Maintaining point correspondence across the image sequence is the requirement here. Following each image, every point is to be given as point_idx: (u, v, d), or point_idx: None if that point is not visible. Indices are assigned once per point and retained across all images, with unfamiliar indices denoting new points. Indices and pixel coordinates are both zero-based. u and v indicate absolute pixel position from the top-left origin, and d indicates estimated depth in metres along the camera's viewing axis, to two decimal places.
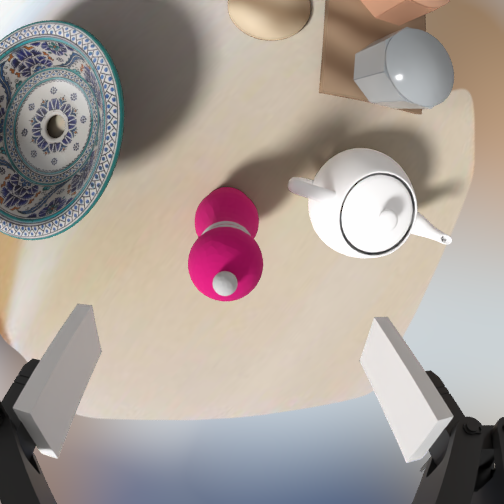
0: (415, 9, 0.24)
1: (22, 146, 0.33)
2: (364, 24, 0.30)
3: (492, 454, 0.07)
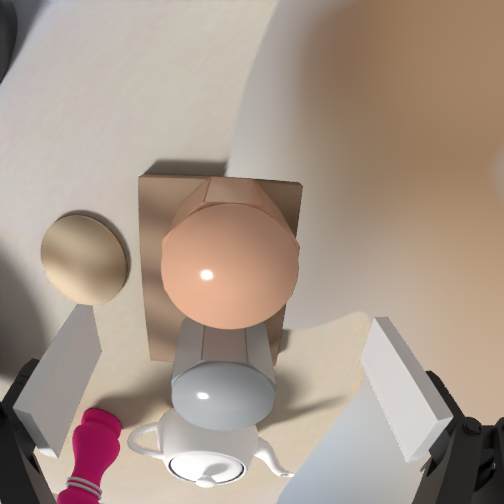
0: None
1: None
2: None
3: (492, 454, 0.07)
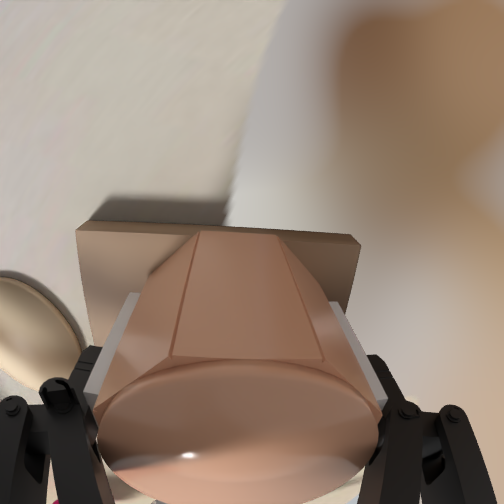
0: None
1: None
2: None
3: (439, 445, 0.08)
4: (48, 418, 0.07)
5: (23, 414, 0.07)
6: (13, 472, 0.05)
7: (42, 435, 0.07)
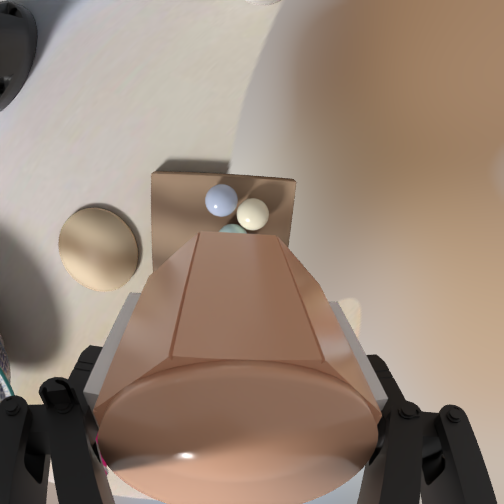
0: None
1: None
2: None
3: (440, 444, 0.08)
4: (48, 418, 0.07)
5: (23, 414, 0.07)
6: (13, 472, 0.05)
7: (42, 435, 0.07)
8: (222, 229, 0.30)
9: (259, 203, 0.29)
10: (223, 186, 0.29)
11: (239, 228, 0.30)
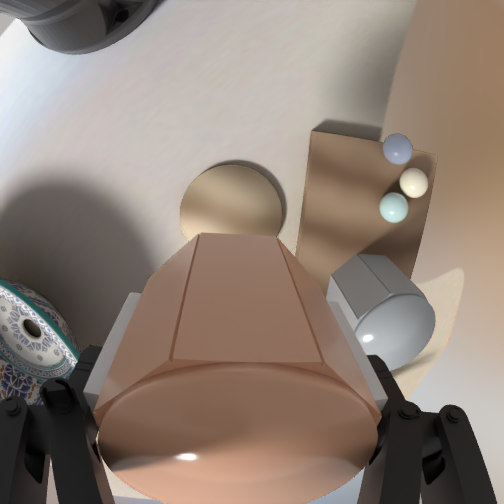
0: None
1: (6, 339, 0.34)
2: (348, 234, 0.32)
3: (440, 444, 0.08)
4: (48, 418, 0.07)
5: (23, 414, 0.07)
6: (13, 472, 0.05)
7: (42, 435, 0.07)
8: (391, 199, 0.28)
9: (424, 173, 0.28)
10: None
11: (404, 198, 0.28)
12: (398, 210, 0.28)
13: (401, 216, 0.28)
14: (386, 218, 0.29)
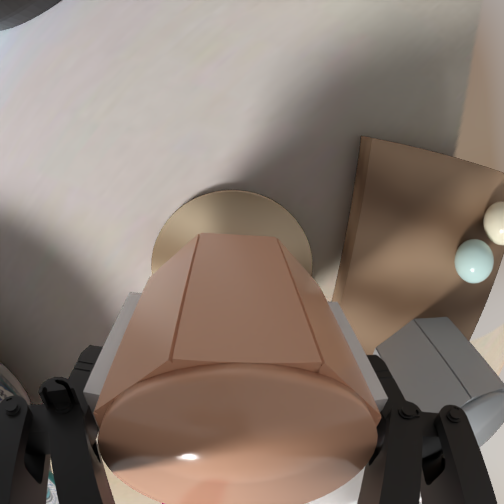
0: None
1: None
2: (405, 294, 0.20)
3: (440, 444, 0.08)
4: (48, 418, 0.07)
5: (23, 414, 0.07)
6: (13, 472, 0.05)
7: (42, 435, 0.07)
8: (480, 256, 0.17)
9: None
10: None
11: None
12: (486, 272, 0.17)
13: None
14: (465, 279, 0.18)
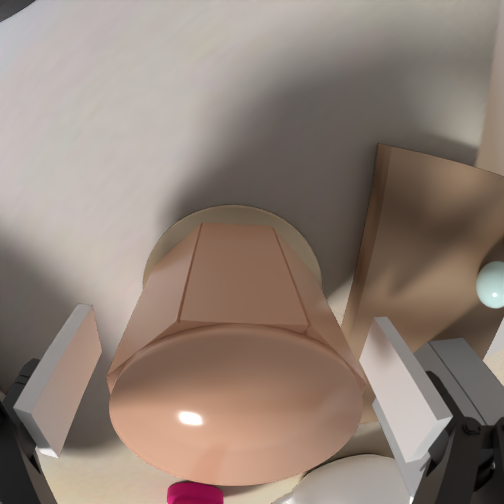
0: None
1: None
2: (421, 317, 0.18)
3: (492, 454, 0.07)
4: None
5: None
6: None
7: None
8: None
9: None
10: None
11: None
12: None
13: None
14: (487, 305, 0.16)
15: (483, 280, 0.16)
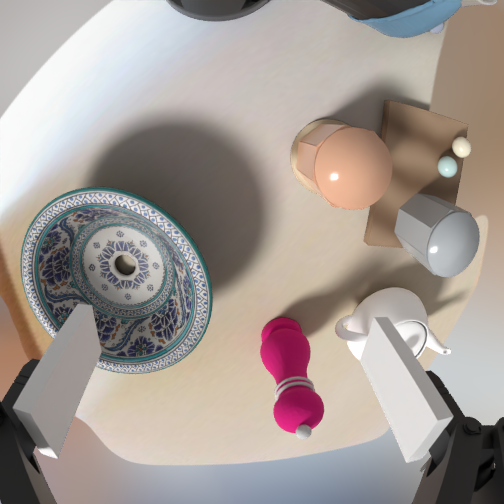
0: None
1: (91, 280, 0.41)
2: (411, 176, 0.39)
3: (492, 454, 0.07)
4: None
5: None
6: None
7: None
8: (454, 168, 0.36)
9: None
10: None
11: (456, 163, 0.37)
12: None
13: (452, 176, 0.38)
14: (444, 175, 0.38)
15: (442, 164, 0.37)
